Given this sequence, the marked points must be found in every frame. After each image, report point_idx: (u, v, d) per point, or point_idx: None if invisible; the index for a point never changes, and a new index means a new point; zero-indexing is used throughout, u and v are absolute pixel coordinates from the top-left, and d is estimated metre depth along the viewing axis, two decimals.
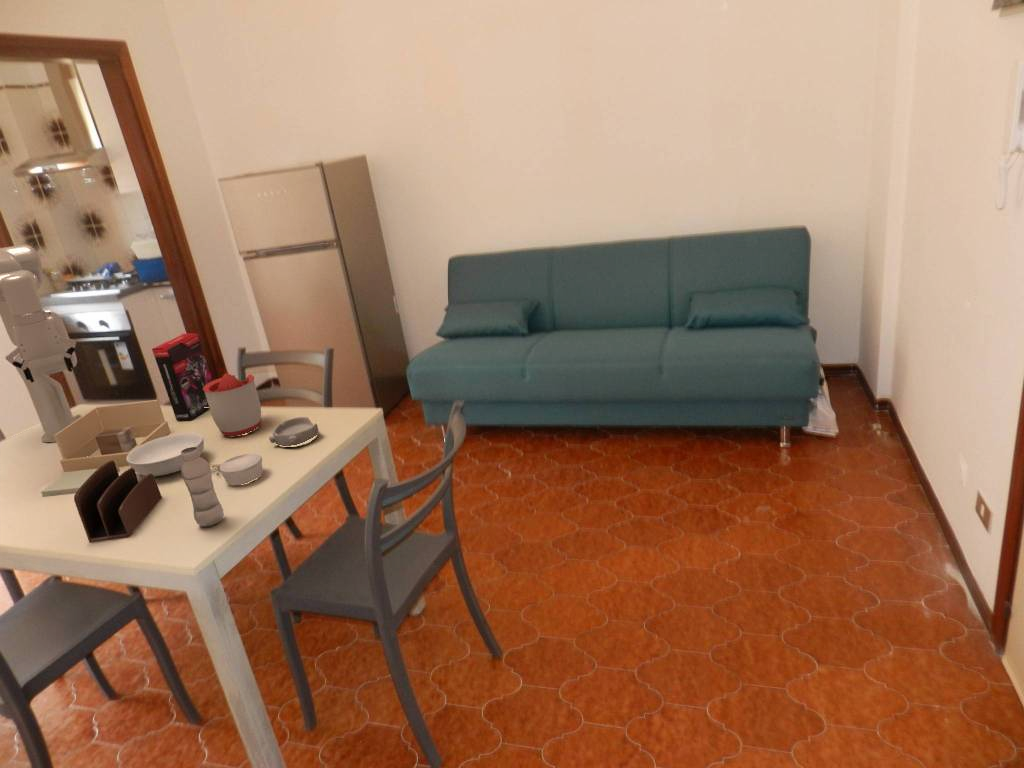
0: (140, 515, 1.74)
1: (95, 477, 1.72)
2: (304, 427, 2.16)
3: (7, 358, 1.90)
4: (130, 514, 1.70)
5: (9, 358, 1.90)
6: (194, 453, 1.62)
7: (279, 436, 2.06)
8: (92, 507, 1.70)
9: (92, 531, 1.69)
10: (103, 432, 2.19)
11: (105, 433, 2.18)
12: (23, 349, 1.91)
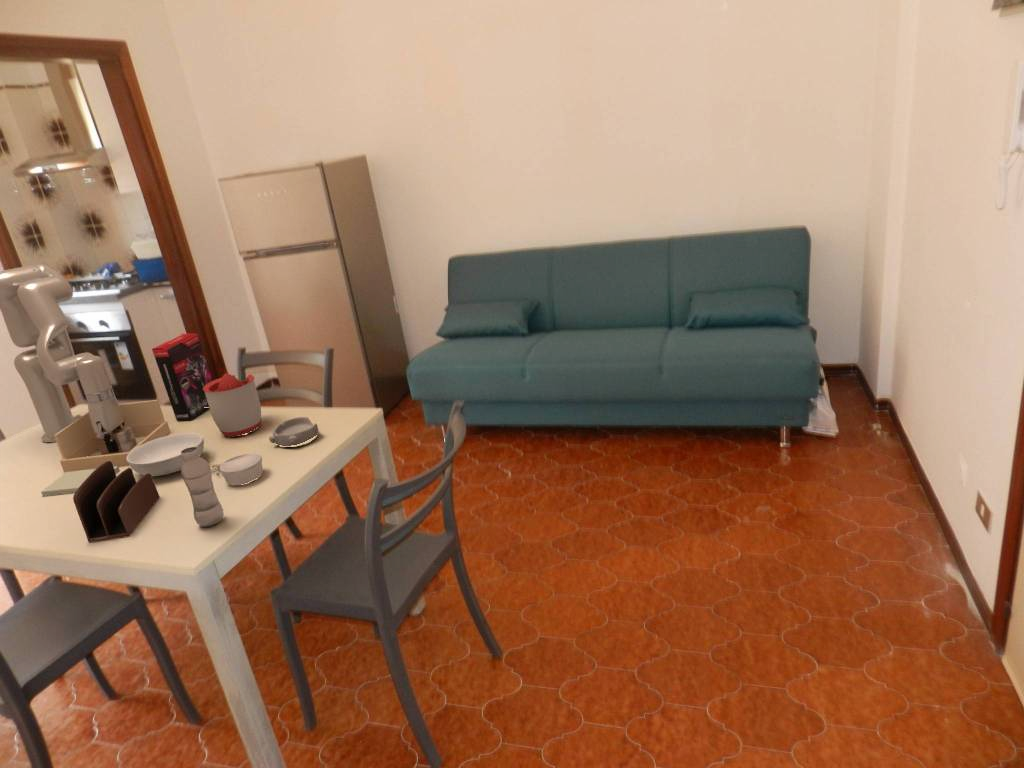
0: (139, 515, 1.75)
1: (93, 477, 1.72)
2: (304, 427, 2.16)
3: (101, 436, 2.12)
4: (129, 513, 1.70)
5: (101, 435, 2.12)
6: (194, 453, 1.62)
7: (279, 436, 2.06)
8: (91, 507, 1.70)
9: (91, 531, 1.69)
10: None
11: None
12: (107, 421, 2.13)
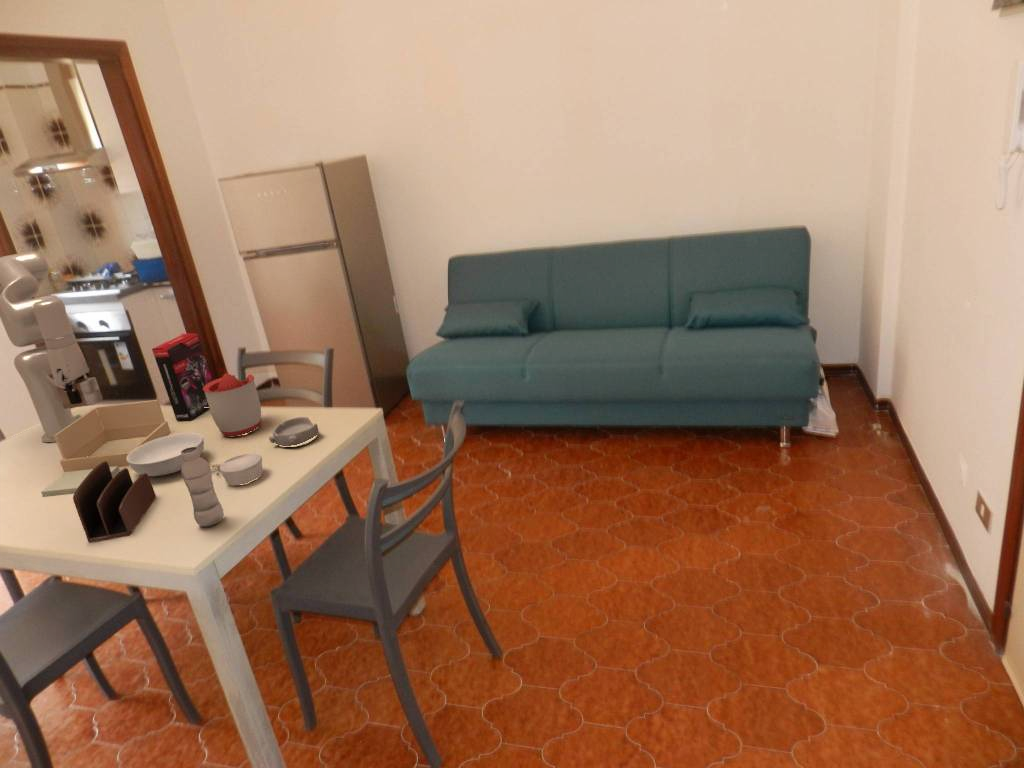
0: (138, 514, 1.75)
1: (91, 477, 1.72)
2: (304, 427, 2.16)
3: (61, 384, 1.97)
4: (129, 512, 1.71)
5: (62, 383, 1.97)
6: (194, 453, 1.62)
7: (279, 436, 2.06)
8: (90, 507, 1.70)
9: (91, 531, 1.69)
10: None
11: (67, 383, 2.03)
12: (68, 369, 1.98)
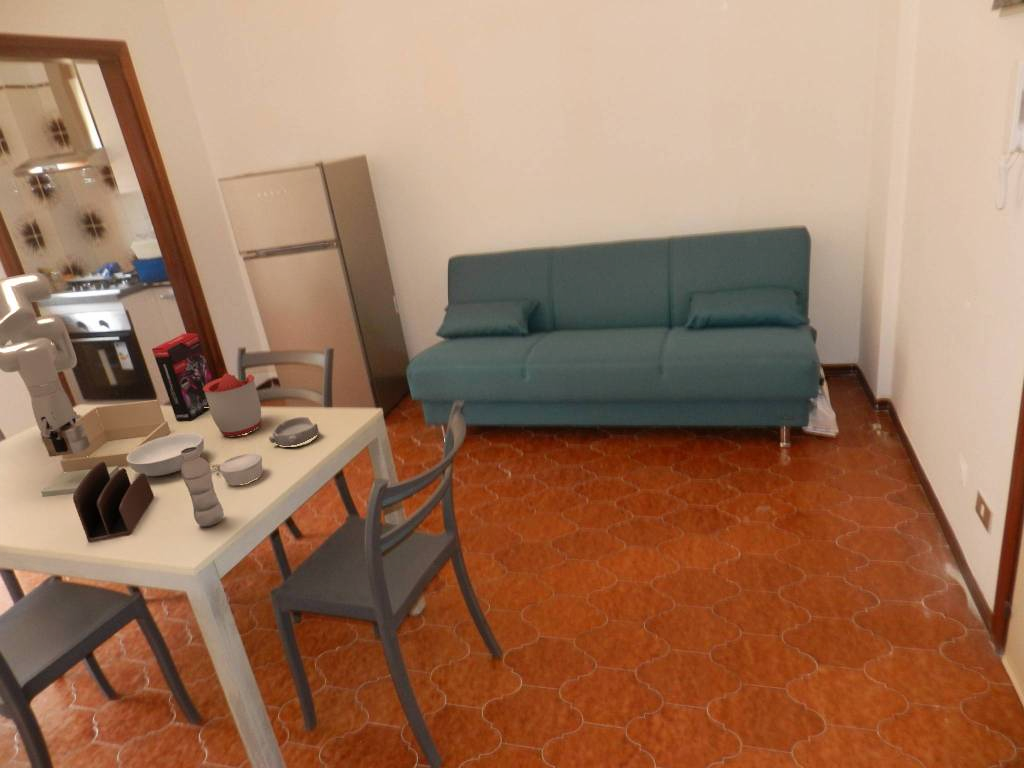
0: (137, 514, 1.75)
1: (90, 477, 1.72)
2: (304, 427, 2.16)
3: (46, 433, 1.88)
4: (129, 512, 1.71)
5: (47, 432, 1.89)
6: (194, 453, 1.62)
7: (279, 436, 2.06)
8: (89, 507, 1.70)
9: (90, 531, 1.69)
10: None
11: None
12: (53, 417, 1.90)
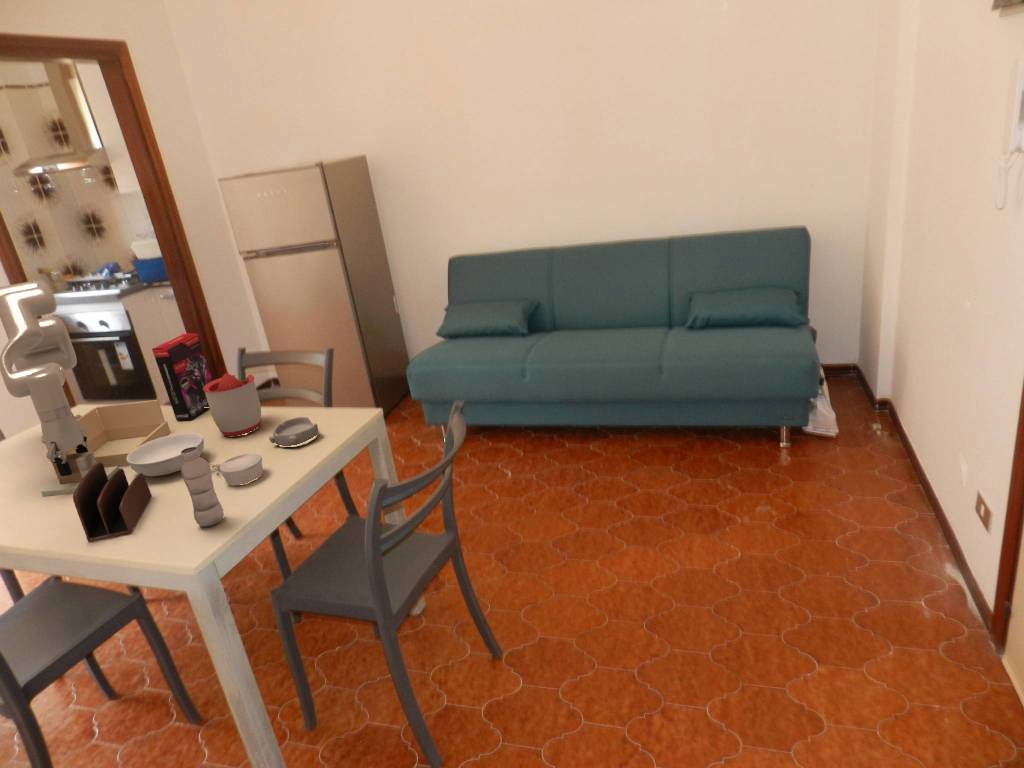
0: (137, 513, 1.76)
1: (88, 477, 1.72)
2: (304, 427, 2.16)
3: (51, 455, 1.89)
4: (129, 511, 1.71)
5: (52, 455, 1.90)
6: (194, 453, 1.62)
7: (279, 436, 2.06)
8: (88, 507, 1.70)
9: (90, 531, 1.69)
10: None
11: None
12: (62, 442, 1.92)
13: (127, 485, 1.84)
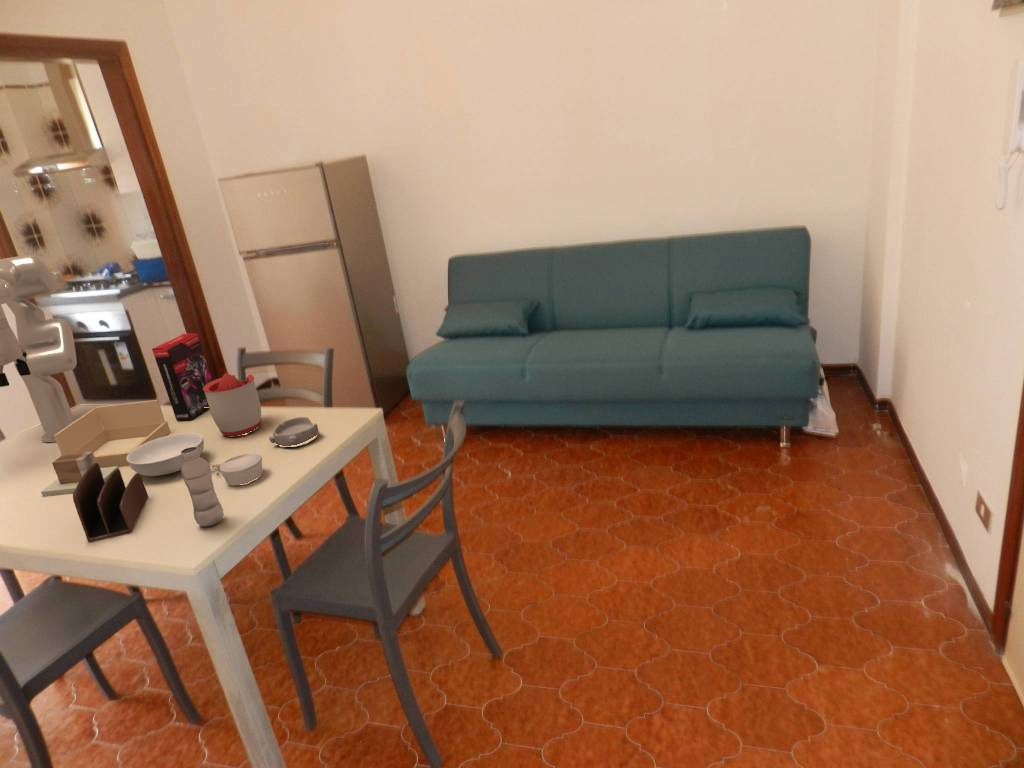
0: (136, 512, 1.76)
1: (86, 478, 1.72)
2: (304, 427, 2.16)
3: None
4: (128, 511, 1.72)
5: None
6: (194, 453, 1.62)
7: (279, 436, 2.06)
8: (87, 507, 1.70)
9: (90, 531, 1.69)
10: (61, 457, 1.99)
11: (63, 459, 1.98)
12: (0, 353, 2.02)
13: (123, 485, 1.84)
